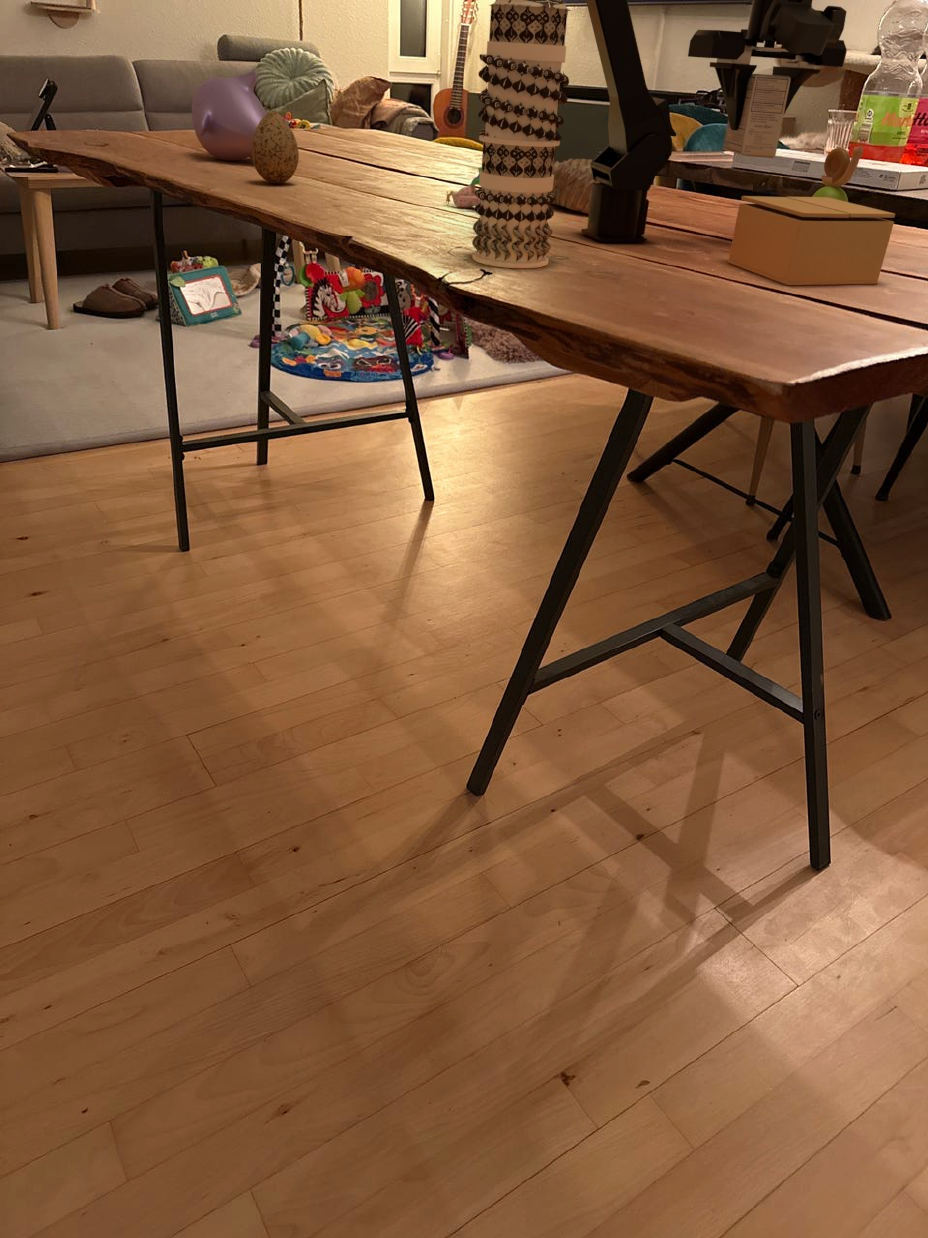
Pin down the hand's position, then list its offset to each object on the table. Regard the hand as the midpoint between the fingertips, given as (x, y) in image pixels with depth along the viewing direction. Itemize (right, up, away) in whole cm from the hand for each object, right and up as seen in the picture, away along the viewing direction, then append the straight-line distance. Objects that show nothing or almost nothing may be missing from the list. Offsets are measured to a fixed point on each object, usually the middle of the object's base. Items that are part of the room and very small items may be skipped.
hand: (752, 130), depth 115 cm
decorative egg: (-65, +7, +30) cm, 72 cm away
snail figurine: (+18, -2, +24) cm, 30 cm away
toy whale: (-76, +21, +51) cm, 94 cm away
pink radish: (-32, -3, +17) cm, 37 cm away
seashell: (-18, +1, +24) cm, 30 cm away
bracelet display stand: (-31, -21, -12) cm, 39 cm away
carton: (+3, -21, -9) cm, 23 cm away
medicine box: (0, -2, +1) cm, 3 cm away
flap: (0, -16, -13) cm, 21 cm away
